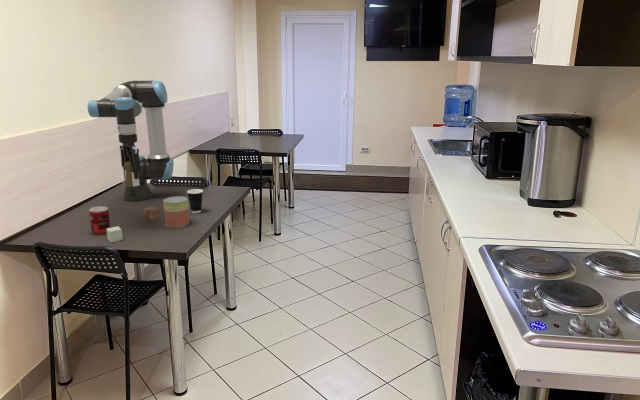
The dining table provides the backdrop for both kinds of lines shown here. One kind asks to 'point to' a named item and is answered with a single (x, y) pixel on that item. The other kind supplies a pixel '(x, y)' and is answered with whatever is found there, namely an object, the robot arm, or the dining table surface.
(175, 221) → the canned food
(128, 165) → the cork
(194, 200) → the dixie cup
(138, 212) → the dining table surface
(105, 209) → the canned food
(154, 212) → the walnut cube
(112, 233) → the sage cube
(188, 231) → the dining table surface
